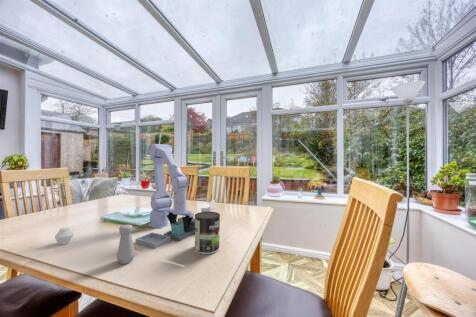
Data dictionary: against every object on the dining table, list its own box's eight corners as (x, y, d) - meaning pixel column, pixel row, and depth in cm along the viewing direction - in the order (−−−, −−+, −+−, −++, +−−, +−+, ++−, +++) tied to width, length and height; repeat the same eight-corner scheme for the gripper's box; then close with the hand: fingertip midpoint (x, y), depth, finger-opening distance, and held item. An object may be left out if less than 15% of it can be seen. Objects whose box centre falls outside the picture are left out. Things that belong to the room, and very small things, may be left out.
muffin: (58, 241, 91) (58, 225, 91) (75, 239, 93) (75, 223, 93) (52, 247, 85) (52, 230, 85) (70, 245, 88) (70, 228, 87)
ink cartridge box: (206, 225, 114) (206, 198, 114) (215, 225, 113) (215, 198, 113) (200, 230, 106) (201, 201, 106) (210, 231, 105) (210, 202, 105)
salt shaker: (121, 257, 78) (121, 223, 77) (137, 257, 78) (137, 222, 78) (113, 266, 72) (113, 228, 71) (130, 265, 72) (130, 228, 72)
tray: (135, 243, 90) (135, 238, 90) (152, 236, 97) (152, 232, 97) (155, 249, 85) (155, 244, 85) (170, 241, 92) (170, 236, 92)
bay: (161, 237, 97) (161, 224, 96) (183, 227, 110) (183, 216, 110) (182, 242, 91) (182, 229, 91) (201, 231, 104) (201, 219, 104)
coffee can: (224, 247, 88) (225, 213, 87) (208, 257, 79) (209, 220, 79) (205, 241, 93) (206, 210, 93) (189, 250, 84) (189, 215, 84)
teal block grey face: (171, 236, 96) (171, 223, 96) (181, 231, 103) (181, 219, 103) (177, 238, 95) (178, 224, 95) (187, 233, 101) (188, 220, 101)
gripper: (162, 201, 98) (162, 230, 98) (186, 205, 92) (186, 235, 92) (172, 198, 104) (172, 225, 105) (196, 201, 98) (196, 230, 98)
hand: (179, 230), depth 99 cm, fingers open, 7 cm apart
